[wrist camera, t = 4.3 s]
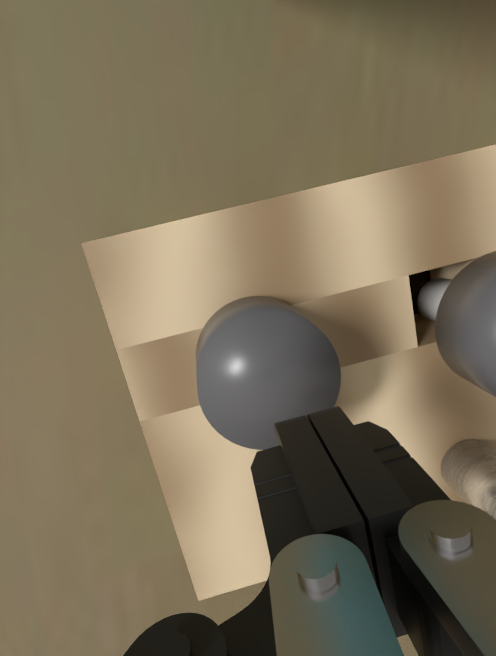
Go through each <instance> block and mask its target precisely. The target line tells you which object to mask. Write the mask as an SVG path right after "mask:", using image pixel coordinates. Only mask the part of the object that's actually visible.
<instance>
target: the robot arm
mask: <svg viewBox="0 0 496 656" xmlns="http://www.w3.org/2000/svg"><path fill="white" fill-rule="evenodd" d="M274 428H275V433H276V437H277V441H278V445H279V446H276V447H272V448H268V449H265V450H261V451H257V453H256V455H255V458H254V460H253V463H252V465H251V467H250V468H251V472H252V477H253V481H254V486H255V491H256V495H257V499H258V504H259V509H260V514H261V518H262V523H263V527H264V532H265V536H266V541H267V546H268V550H269V555H270V562H271V564H270V572H269V576H268V579H267V582H266V584H265V586H264V587H263V589H262V591H261V592H260V594H259V595H258V596H257V597H256V598H255V600H254V601H253V602H251V603H250V604H249V605H248V606H247V607H246V608H244V609H243V610H242V611H240V612H239V613H237V614H236V615H234V616H233V617H231V618H230V619H228V620H226V621H225V622H223V623H222V624H220V625H219V626H218V625H217V624H216V623H215V622H214V621H213V620H211V619H210V618H208V617H206V616H204V615H201V614H197V613H180V614H176V615H172V616H169V617H167V618H164V619H162V620H160V621H159V622H157V623H155V624H154V625H152V626H151V627H149V628H148V629H147V630H145V631H144V632H143V633H142V634H141V635H140V636H139V637H138V638H137V639H136V640H135V641H134V643H133V644H132V645H131V646H130V647H129V649H128V650H127V651H126V653H125V654H124V655H123V656H404V655H403V652H402V650H401V647H400V645H399V642H398V640H397V637H400V636H403V635H406V634H408V635H409V637H410V639H411V641H412V643H413V645H414V647H415V649H416V651H417V653H418V655H419V656H496V519H494V518H493V517H492V516H491V515H489V514H488V513H487V512H485V511H483V510H481V509H480V508H478V507H475V506H473V505H470V504H467V503H464V502H459V501H453V500H451V499H450V498H449V497H448V496H447V495H446V494H445V493H444V491H443V490H442V489H441V488H440V487H439V486H438V485H437V484H436V483H435V481H434V480H433V479H432V478H431V477H430V476H429V475H428V474H427V473H426V472H425V470H424V469H423V468H422V467H421V466H420V465H419V464H418V463H417V462H416V460H415V459H414V458H413V457H412V458H411V456H410V454H409V453H408V452H407V451H406V449H405V448H404V447H403V446H401V445H400V443H399V442H398V441H397V440H396V438H395V437H394V436H393V435H392V434H391V433H390V432H389V431H388V430H387V429H385V428H383V427H380V426H378V425H376V424H374V423H372V422H369V421H367V422H363V423H360V424H356V425H353V423H352V422H351V421H350V419H349V418H348V417H347V416H346V414H345V413H344V412H343V410H342V409H341V408H340V407H339V406H336V407H333V408H329V409H325V410H322V411H318V412H314V413H310V414H307V417H306V416H305V415H303V416H300V417H296V418H292V419H289V420H285V421H281V422H277V423H274Z"/></svg>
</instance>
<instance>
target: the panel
mask: <svg viewBox="0 0 496 656" xmlns="http://www.w3.org/2000/svg"><path fill="white" fill-rule="evenodd" d="M82 247H83V250H84V253H85V256H86V259H87V262H88V265H89V268H90V271H91V274H92V277H93V280H94V283H95V286H96V289H97V292H98V295H99V298H100V301H101V305H102V308H103V311H104V314H105V317H106V320H107V323H108V326H109V329H110V332H111V335H112V338H113V341H114V344H115V347H116V350H117V353H118V356H119V359H120V362H121V366H122V369H123V372H124V375H125V378H126V381H127V384H128V387H129V390H130V393H131V396H132V399H133V402H134V405H135V408H136V411H137V414H138V417H139V420H140V424H141V427H142V430H143V433H144V436H145V439H146V442H147V445H148V448H149V451H150V454H151V457H152V460H153V463H154V466H155V469H156V472H157V475H158V478H159V481H160V485H161V488H162V491H163V494H164V497H165V500H166V503H167V506H168V509H169V512H170V515H171V518H172V521H173V524H174V527H175V530H176V533H177V536H178V539H179V543H180V546H181V549H182V552H183V555H184V558H185V561H186V564H187V567H188V570H189V573H190V576H191V579H192V582H193V585H194V588H195V591H196V594H197V597H198V600H203V599H206V598H209V597H213V596H216V595H219V594H223V593H226V592H229V591H233V590H236V589H239V588H243V587H246V586H250V585H253V584H256V583H260V582H263V581H266V580H267V579H268V576H269V572H270V564H271V562H270V555H269V550H268V546H267V541H266V536H265V532H264V527H263V523H262V518H261V514H260V509H259V504H258V499H257V495H256V491H255V486H254V481H253V477H252V472H251V468H250V467H251V465H252V463H253V460H254V458H255V455H256V453H257V451H261V450H256V449H249V448H246V447H242V446H239V445H237V444H235V443H232V442H231V441H229V440H227V439H226V438H224V437H223V436H222V435H220V434H219V433H218V432H217V431H216V430H215V429H214V428H213V427H212V426H211V425H210V423H209V422H208V420H207V419H206V417H205V415H204V413H203V412H202V409H201V406H200V403H199V399H198V394H197V374H196V347H197V343H198V339H199V336H200V333H201V331H202V329H203V328H204V326H205V324H206V323H207V321H208V320H209V319H210V318H211V317H212V316H213V314H214V313H216V312H217V311H218V310H219V309H220V308H222V307H223V306H225V305H226V304H228V303H230V302H232V301H234V300H237V299H240V298H244V297H249V296H267V297H272V298H276V299H279V300H281V301H284V302H285V303H287V304H289V305H291V306H292V307H293V308H295V309H296V310H297V311H298V312H300V313H301V314H302V315H303V316H304V317H306V318H307V319H308V320H309V321H310V322H311V323H313V324H314V325H315V326H316V327H317V328H318V329H320V330H321V331H322V332H323V333H324V334H325V335H326V337H327V338H328V339H329V340H330V342H331V344H332V345H333V347H334V349H335V351H336V354H337V356H338V360H339V363H340V370H341V385H340V391H339V395H338V398H337V401H336V403H335V406H334V407H336V406H339V407H340V408H341V409H342V410H343V412H344V413H345V414H346V416H347V417H348V418H349V419H350V421H351V422H352V423H353V425H356V424H360V423H363V422H367V421H369V422H372V423H374V424H376V425H378V426H380V427H383V428H385V429H387V430H388V431H389V432H390V433H391V434H392V435H393V436H394V437H395V438H396V440H397V441H398V442H399V443H400V445H401V446H403V447H404V448H405V449H406V451H407V452H408V453H409V454H410V456H411V458H412V457H413V458H414V459H415V460H416V462H417V463H418V464H419V465H420V466H421V467H422V468H423V469H424V470H425V472H426V473H427V474H428V475H429V476H430V477H431V478H432V479H433V480H434V481H435V483H436V484H437V485H438V486H439V487H440V488H441V489H442V490H443V491H444V493H445V494H446V495H447V496H448V497H449V498H450V499H451V500H453V501H459V502H464V503H466V502H465V501H464V500H463V499H462V498H461V497H460V496H459V495H458V493H457V492H456V491H455V490H454V489H453V488H452V487H451V486H450V485H449V484H448V483H447V482H446V481H445V480H444V478H443V477H442V474H441V462H442V459H443V457H444V455H445V453H446V452H447V451H448V449H449V448H450V447H452V446H453V445H454V444H456V443H458V442H460V441H462V440H466V439H476V440H479V441H482V442H483V443H485V444H486V445H487V446H489V447H490V448H491V449H492V450H494V451H495V452H496V397H495V396H493V395H491V394H489V393H488V392H486V391H484V390H483V389H481V388H479V387H477V386H476V385H474V384H472V383H470V382H469V381H467V380H465V379H464V378H462V377H460V376H459V375H457V374H456V373H455V372H453V371H452V370H451V369H450V368H449V367H448V366H447V364H446V363H445V361H444V360H443V358H442V356H441V354H440V352H439V349H438V346H437V342H436V337H435V322H434V321H432V320H430V319H427V318H425V317H424V316H423V315H422V314H421V313H418V314H414V313H413V305H412V298H411V290H410V283H409V275H412V274H416V273H419V272H423V271H427V270H430V279H431V280H432V279H435V278H446V279H450V280H453V279H454V277H455V276H456V275H457V274H458V273H459V272H460V271H461V270H462V269H463V268H464V267H465V266H467V265H468V264H469V263H471V262H472V261H474V260H475V259H477V258H479V257H481V256H483V255H485V254H488V253H491V252H494V251H496V145H492V146H488V147H484V148H479V149H475V150H471V151H467V152H463V153H458V154H454V155H450V156H446V157H442V158H437V159H433V160H429V161H425V162H421V163H416V164H412V165H408V166H404V167H400V168H395V169H391V170H387V171H383V172H379V173H374V174H370V175H366V176H362V177H358V178H353V179H349V180H345V181H341V182H337V183H332V184H328V185H324V186H320V187H316V188H311V189H307V190H303V191H299V192H295V193H290V194H286V195H282V196H278V197H274V198H269V199H265V200H261V201H257V202H253V203H249V204H244V205H240V206H236V207H232V208H228V209H223V210H219V211H215V212H211V213H207V214H202V215H198V216H194V217H190V218H186V219H181V220H177V221H173V222H169V223H165V224H160V225H156V226H152V227H148V228H144V229H139V230H135V231H131V232H127V233H123V234H118V235H114V236H110V237H106V238H102V239H97V240H93V241H89V242H85V243H82Z"/></svg>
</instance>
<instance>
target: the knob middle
mask: <svg viewBox="0 0 496 656" xmlns="http://www.w3.org/2000/svg"><path fill="white" fill-rule="evenodd" d="M417 305H418V309H419V311H420V313H421V314H422V315H423V316H424V317H425V318H427V319H430V320H432V321H434V322H435V337H436V342H437V346H438V349H439V352H440V354H441V356H442V358H443V360H444V361H445V363H446V364H447V366H448V367H449V368H450V369H451V370H452V371H453V372H455V373H456V374H457V375H459V376H460V377H462V378H464V379H465V380H467V381H469V382H470V383H472V384H474V385H476V386H477V387H479V388H481V389H483V390H484V391H486V392H488V393H489V394H491V395H493V396H495V397H496V251H494V252H491V253H488V254H485V255H483V256H481V257H479V258H477V259H475V260H474V261H472V262H471V263H469V264H468V265H467V266H465V267H464V268H463V269H462V270H461V271H460V272H459V273H458V274H457V275H456V276H455V277H454V279H453V280H450V279H446V278H435V279H432V280H430V281H428V282H427V283H426V284H425V285H424V286H423V287H422V288H421V290H420V292H419V294H418V299H417Z"/></svg>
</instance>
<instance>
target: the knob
mask: <svg viewBox="0 0 496 656" xmlns="http://www.w3.org/2000/svg"><path fill="white" fill-rule="evenodd" d="M196 374H197V394H198V399H199V403H200V406H201V409H202V412H203V413H204V415H205V417H206V419H207V420H208V422H209V423H210V425H211V426H212V427H213V428H214V429H215V430H216V431H217V432H218V433H219V434H220V435H222V436H223V437H224V438H226V439H227V440H229V441H231V442H232V443H235V444H237V445H239V446H242V447H246V448H249V449H256V450H265V449H268V448H272V447H276V446H279V445H278V441H277V437H276V433H275V428H274V423H277V422H281V421H285V420H289V419H292V418H296V417H300V416H303V415H305V416H306V417H307V414H310V413H314V412H318V411H322V410H325V409H329V408H333V407H334V406H335V403H336V401H337V398H338V395H339V391H340V385H341V370H340V363H339V360H338V356H337V354H336V351H335V349H334V347H333V345H332V344H331V342H330V340H329V339H328V338H327V337H326V335H325V334H324V333H323V332H322V331H321V330H320V329H318V328H317V327H316V326H315V325H314V324H313V323H311V322H310V321H309V320H308V319H307V318H306V317H304V316H303V315H302V314H301V313H300V312H298V311H297V310H296V309H295V308H293V307H292V306H291V305H289V304H287V303H285V302H284V301H281V300H279V299H276V298H272V297H267V296H249V297H244V298H240V299H237V300H234V301H232V302H230V303H228V304H226V305H225V306H223V307H222V308H220V309H219V310H218V311H217V312H216V313H214V314H213V316H212V317H211V318H210V319H209V320H208V321H207V323H206V324H205V326H204V328H203V329H202V331H201V333H200V336H199V339H198V343H197V347H196Z"/></svg>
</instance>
